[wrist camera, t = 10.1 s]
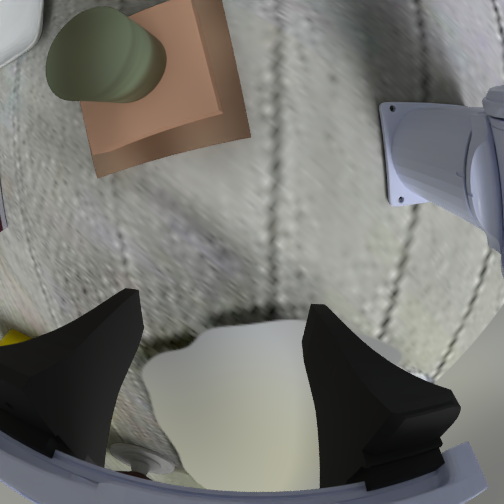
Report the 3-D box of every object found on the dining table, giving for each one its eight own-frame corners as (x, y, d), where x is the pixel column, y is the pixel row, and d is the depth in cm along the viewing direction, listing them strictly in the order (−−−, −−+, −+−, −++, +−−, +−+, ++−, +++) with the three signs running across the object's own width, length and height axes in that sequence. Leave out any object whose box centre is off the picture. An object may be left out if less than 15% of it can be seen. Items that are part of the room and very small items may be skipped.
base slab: (222, 5, 15) (219, -9, 12) (251, 136, 19) (251, 137, 17) (90, 51, 15) (74, 45, 13) (112, 172, 20) (97, 178, 17)
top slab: (196, 9, 13) (189, -6, 11) (223, 113, 16) (218, 110, 14) (89, 53, 13) (71, 46, 11) (110, 151, 17) (92, 155, 14)
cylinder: (163, 23, 11) (128, -9, 7) (170, 91, 13) (133, 80, 9) (95, 47, 11) (45, 32, 7) (101, 112, 13) (48, 115, 9)
